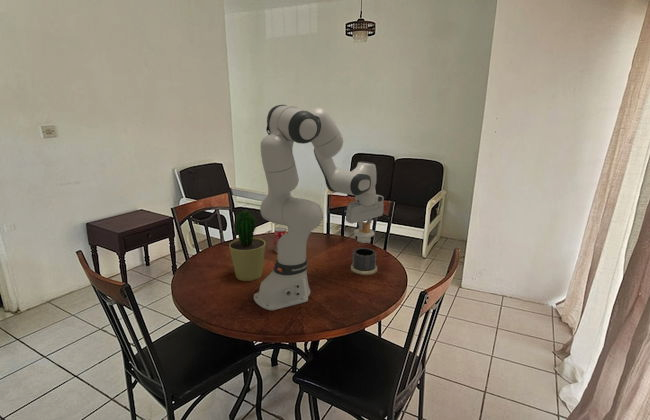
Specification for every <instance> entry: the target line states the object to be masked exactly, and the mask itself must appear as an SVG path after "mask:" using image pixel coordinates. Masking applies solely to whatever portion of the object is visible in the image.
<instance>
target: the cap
mask: <svg viewBox="0 0 650 420" xmlns="http://www.w3.org/2000/svg"><path fill="white" fill-rule="evenodd" d="M362 225H363V226H364V230H360V229H359V228H357V229H355V230H354V231H353V235H354V237H356V241H357V242H358V243H361V244H362V243H363V244H366V243H367V244H368V243H370V242H371V241H372V239H371V238H372V237H374V236H375V230H373V229H371V223H370V224H368V223H366V222H365V221H363V223H362Z"/></svg>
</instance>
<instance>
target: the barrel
mask: <svg viewBox="0 0 650 420" xmlns="http://www.w3.org/2000/svg"><path fill="white" fill-rule="evenodd" d="M376 263H377V251H376V250H375V249H372V248H367V247H358V248H355V249H354V250H353V251H352V263H351V265H350V271H351V273H354V274H355V275H361V276H371V275H375V274H376V273H377V272H378V266H377V264H376Z"/></svg>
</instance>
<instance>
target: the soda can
mask: <svg viewBox="0 0 650 420" xmlns="http://www.w3.org/2000/svg"><path fill="white" fill-rule="evenodd" d="M287 233H288V230H287V228H286V227H276V228H275V229H274V231H273V249H274V252H275V253H277V242H278V240H279V239H280V238H281V237H282V236H284V235H286V234H287Z"/></svg>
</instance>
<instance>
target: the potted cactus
mask: <svg viewBox="0 0 650 420" xmlns="http://www.w3.org/2000/svg"><path fill="white" fill-rule="evenodd" d="M235 219H236V220H234V221H235V222H236V228H235V233H237V237H238V239H235V240H233V241H231V242H229V244H228V246H229V252H230V256H231V260H232V261H231V262H232V265H233V269H234V273H235V277H236V279H237V280H240V281H243V282H251V281H256V280H258V279H260V278H261V277H262V276H263V271H264V261H265V260H264V259H265V251H266V244H267V243H266V241H265V240H264V239H262V238H258V237H255V236H256V234H255V231H256V229H257V227H256V226H257V224H256V223H257V222H258V220H256V217H255V216H254V215H253V212H252V213H251V212H250V210H246V209H245V210H242V211H241V212H239V213H237V216H236V217H235Z"/></svg>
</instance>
